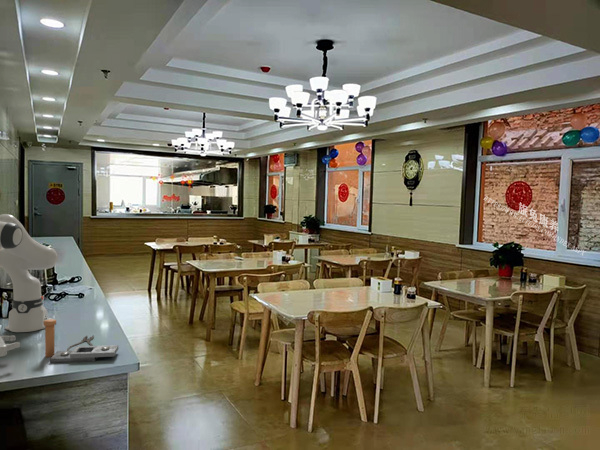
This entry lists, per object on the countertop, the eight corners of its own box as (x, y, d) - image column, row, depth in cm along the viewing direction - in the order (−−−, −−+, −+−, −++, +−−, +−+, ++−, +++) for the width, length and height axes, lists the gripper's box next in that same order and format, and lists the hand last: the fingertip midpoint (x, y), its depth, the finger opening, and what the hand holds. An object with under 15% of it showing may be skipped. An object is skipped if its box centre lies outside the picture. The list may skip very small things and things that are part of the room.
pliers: (66, 351, 182) (70, 336, 200) (66, 353, 182) (70, 338, 200) (92, 349, 186) (94, 334, 204) (92, 351, 186) (94, 336, 204)
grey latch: (57, 355, 179) (57, 345, 178) (118, 352, 183) (118, 343, 183) (49, 363, 170) (49, 353, 170) (114, 360, 175) (114, 350, 175)
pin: (45, 354, 179) (45, 319, 178) (57, 353, 180) (57, 319, 179) (41, 357, 175) (41, 322, 174) (54, 357, 176) (54, 322, 175)
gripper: (-25, 347, 153) (22, 340, 162) (-31, 332, 168) (12, 326, 177) (-25, 365, 153) (22, 357, 162) (-31, 349, 169) (13, 342, 178)
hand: (17, 341), depth 170 cm, fingers open, 8 cm apart
